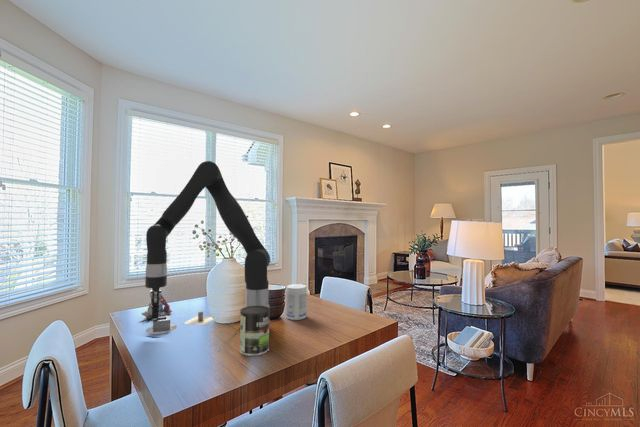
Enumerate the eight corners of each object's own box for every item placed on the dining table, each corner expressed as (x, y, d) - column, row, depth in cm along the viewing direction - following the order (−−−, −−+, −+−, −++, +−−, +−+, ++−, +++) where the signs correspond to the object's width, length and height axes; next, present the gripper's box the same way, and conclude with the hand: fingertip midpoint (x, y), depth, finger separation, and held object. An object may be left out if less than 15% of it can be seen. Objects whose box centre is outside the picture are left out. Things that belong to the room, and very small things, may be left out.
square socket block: (169, 325, 126) (170, 315, 126) (170, 330, 121) (170, 319, 121) (153, 327, 123) (153, 317, 123) (152, 332, 118) (153, 321, 118)
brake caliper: (180, 309, 145) (169, 292, 138) (165, 329, 136) (153, 313, 129) (160, 307, 148) (148, 290, 141) (145, 327, 139) (132, 310, 133)
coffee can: (275, 348, 109) (276, 308, 109) (254, 359, 100) (255, 315, 101) (254, 341, 115) (254, 303, 115) (233, 351, 106) (233, 310, 106)
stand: (216, 320, 137) (217, 309, 137) (205, 328, 127) (205, 316, 127) (195, 319, 138) (196, 308, 138) (183, 327, 128) (183, 315, 128)
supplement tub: (304, 313, 149) (305, 283, 149) (308, 320, 140) (308, 287, 140) (284, 314, 147) (285, 284, 147) (286, 321, 137) (287, 288, 138)
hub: (182, 328, 127) (182, 316, 127) (165, 338, 116) (165, 325, 116) (157, 326, 128) (158, 314, 128) (139, 336, 117) (139, 323, 117)
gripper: (167, 276, 117) (165, 322, 117) (166, 271, 129) (165, 312, 129) (144, 278, 114) (143, 324, 113) (146, 272, 126) (145, 314, 125)
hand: (155, 318), depth 121 cm, fingers closed
